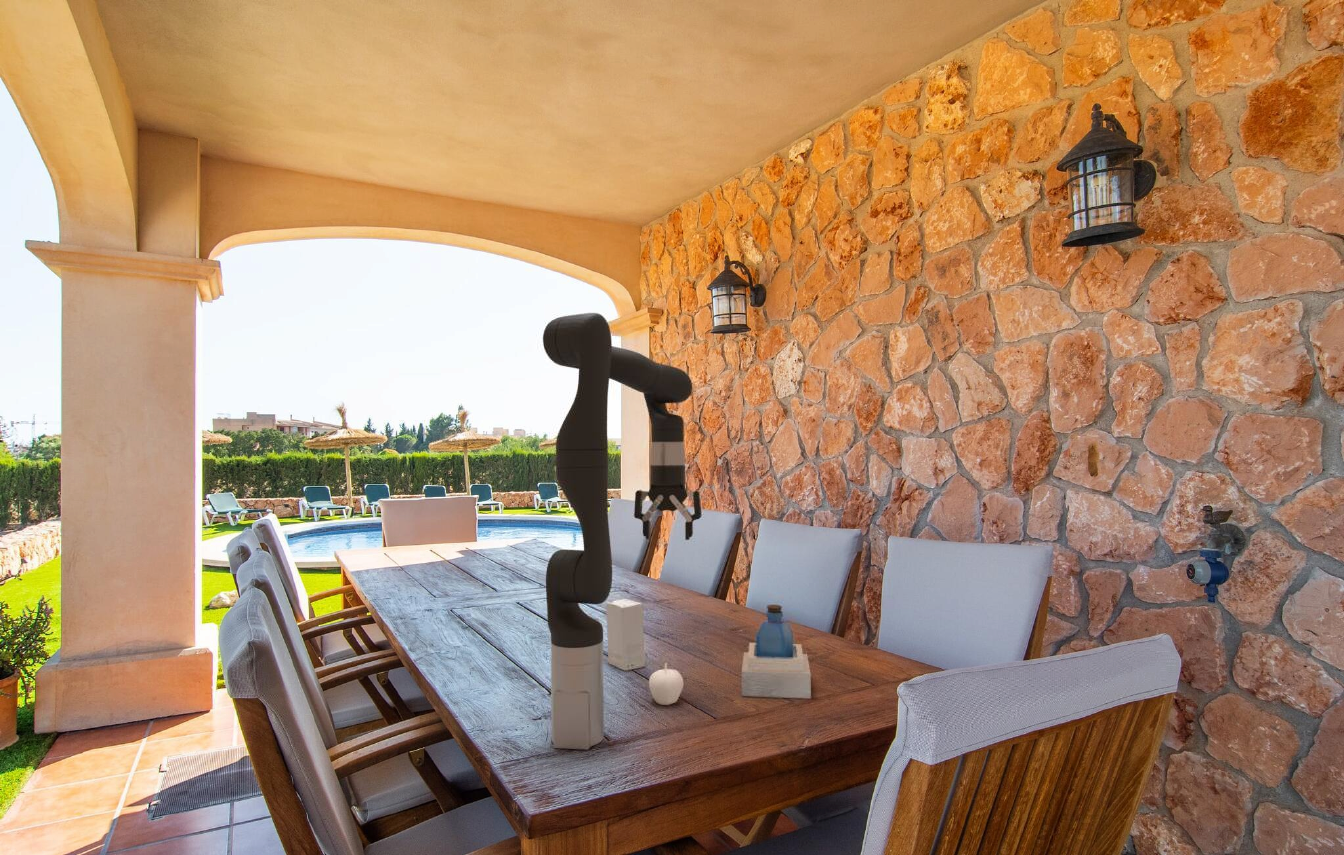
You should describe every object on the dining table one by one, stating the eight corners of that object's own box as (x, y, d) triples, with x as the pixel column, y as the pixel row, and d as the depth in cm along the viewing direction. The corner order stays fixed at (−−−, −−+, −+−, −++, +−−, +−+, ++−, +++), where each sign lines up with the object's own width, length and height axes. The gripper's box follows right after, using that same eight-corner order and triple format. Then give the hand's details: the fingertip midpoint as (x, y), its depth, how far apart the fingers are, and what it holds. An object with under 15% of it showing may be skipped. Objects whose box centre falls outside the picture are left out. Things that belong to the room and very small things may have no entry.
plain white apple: (646, 707, 143) (645, 666, 143) (652, 695, 150) (651, 656, 150) (681, 709, 142) (680, 668, 142) (685, 696, 149) (685, 657, 149)
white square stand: (810, 698, 147) (810, 661, 147) (741, 696, 149) (741, 659, 149) (807, 676, 161) (806, 642, 161) (744, 674, 163) (743, 641, 163)
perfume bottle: (756, 664, 154) (755, 608, 154) (765, 656, 159) (765, 602, 160) (784, 668, 151) (784, 610, 151) (793, 660, 157) (792, 604, 157)
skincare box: (645, 667, 169) (645, 603, 169) (623, 672, 166) (622, 606, 166) (627, 658, 176) (627, 597, 176) (605, 663, 173) (605, 600, 173)
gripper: (631, 463, 153) (631, 540, 152) (698, 463, 151) (699, 541, 150) (638, 463, 160) (638, 536, 160) (702, 463, 158) (702, 537, 158)
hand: (667, 539), depth 155 cm, fingers open, 8 cm apart
